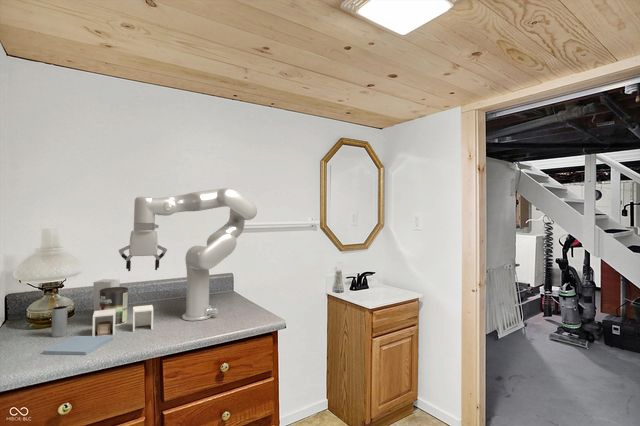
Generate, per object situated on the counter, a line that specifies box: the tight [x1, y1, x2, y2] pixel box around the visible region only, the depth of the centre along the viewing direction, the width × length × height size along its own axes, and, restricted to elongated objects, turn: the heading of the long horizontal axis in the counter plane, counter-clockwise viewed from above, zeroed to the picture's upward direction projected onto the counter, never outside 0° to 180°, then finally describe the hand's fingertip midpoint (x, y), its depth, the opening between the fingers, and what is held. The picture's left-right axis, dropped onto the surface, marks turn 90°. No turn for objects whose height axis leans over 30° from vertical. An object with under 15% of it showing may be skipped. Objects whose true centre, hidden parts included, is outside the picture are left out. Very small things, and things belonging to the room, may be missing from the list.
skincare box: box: [93, 278, 121, 312], centre depth 154 cm, size 8×7×16 cm
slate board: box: [42, 335, 114, 356], centre depth 118 cm, size 14×14×1 cm
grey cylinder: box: [51, 305, 68, 338], centre depth 128 cm, size 4×4×10 cm
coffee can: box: [99, 286, 129, 327], centre depth 143 cm, size 10×10×14 cm
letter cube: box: [97, 321, 112, 336], centre depth 131 cm, size 4×4×4 cm
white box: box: [91, 309, 116, 336], centre depth 131 cm, size 7×7×8 cm
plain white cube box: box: [132, 304, 154, 333], centre depth 138 cm, size 7×7×8 cm
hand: (142, 270), depth 138 cm, fingers open, 9 cm apart
